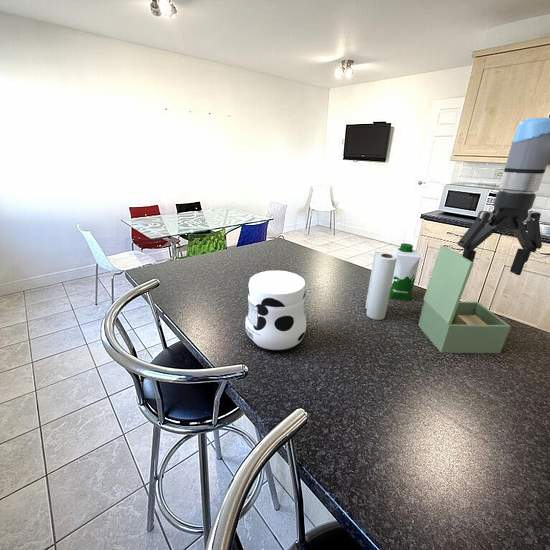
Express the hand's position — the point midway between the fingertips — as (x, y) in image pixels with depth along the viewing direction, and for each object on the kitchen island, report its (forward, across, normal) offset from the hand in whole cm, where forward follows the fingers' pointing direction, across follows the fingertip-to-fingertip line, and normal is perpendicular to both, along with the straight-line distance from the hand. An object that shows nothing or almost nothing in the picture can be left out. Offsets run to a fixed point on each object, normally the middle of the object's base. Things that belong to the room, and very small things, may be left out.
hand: (489, 273), depth 78 cm
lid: (+3, +11, 0) cm, 11 cm away
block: (+20, 0, 0) cm, 20 cm away
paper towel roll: (+21, +24, -13) cm, 34 cm away
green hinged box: (+21, +4, 0) cm, 21 cm away
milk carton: (+21, +11, -26) cm, 35 cm away
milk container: (+21, +57, 0) cm, 61 cm away
